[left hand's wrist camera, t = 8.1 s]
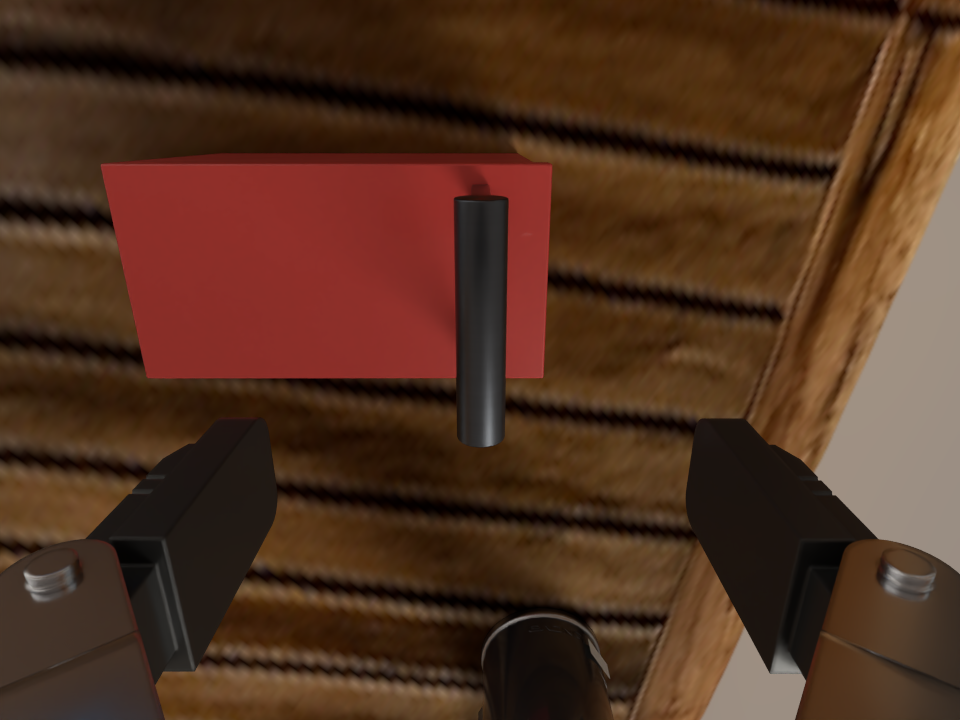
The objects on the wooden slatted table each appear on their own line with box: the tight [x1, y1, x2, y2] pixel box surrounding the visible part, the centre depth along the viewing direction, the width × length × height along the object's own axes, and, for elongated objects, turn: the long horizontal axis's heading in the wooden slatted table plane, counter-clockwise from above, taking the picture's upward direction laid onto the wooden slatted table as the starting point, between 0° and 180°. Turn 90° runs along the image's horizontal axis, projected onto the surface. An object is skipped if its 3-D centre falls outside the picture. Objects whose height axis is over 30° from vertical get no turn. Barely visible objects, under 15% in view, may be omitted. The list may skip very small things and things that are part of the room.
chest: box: [126, 153, 531, 162], centre depth 31 cm, size 17×9×11 cm, turn 90°
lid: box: [101, 162, 552, 447], centre depth 22 cm, size 18×9×8 cm, turn 90°
